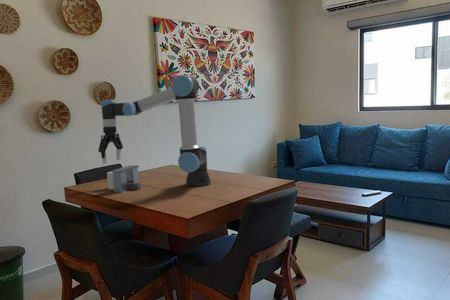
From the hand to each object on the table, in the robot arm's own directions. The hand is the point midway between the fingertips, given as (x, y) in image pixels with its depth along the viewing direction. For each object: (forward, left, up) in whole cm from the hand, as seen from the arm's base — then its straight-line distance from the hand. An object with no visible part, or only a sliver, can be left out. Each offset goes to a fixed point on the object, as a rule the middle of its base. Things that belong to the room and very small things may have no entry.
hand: (111, 161), depth 225 cm
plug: (-7, 0, -16) cm, 18 cm away
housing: (-9, 0, -16) cm, 19 cm away
